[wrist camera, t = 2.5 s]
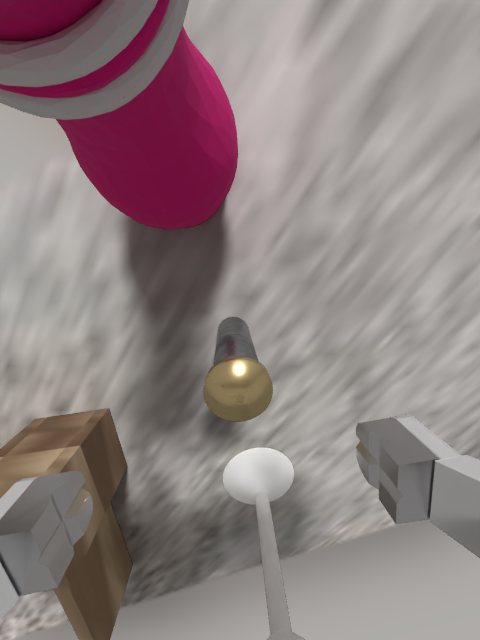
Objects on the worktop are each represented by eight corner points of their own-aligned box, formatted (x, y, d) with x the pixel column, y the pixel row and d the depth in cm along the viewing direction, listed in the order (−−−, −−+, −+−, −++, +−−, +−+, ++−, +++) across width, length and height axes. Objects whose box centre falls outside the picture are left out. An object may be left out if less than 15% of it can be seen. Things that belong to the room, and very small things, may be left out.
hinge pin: (250, 310, 18) (269, 355, 10) (254, 347, 19) (275, 416, 11) (210, 316, 18) (197, 365, 10) (217, 352, 19) (209, 426, 11)
